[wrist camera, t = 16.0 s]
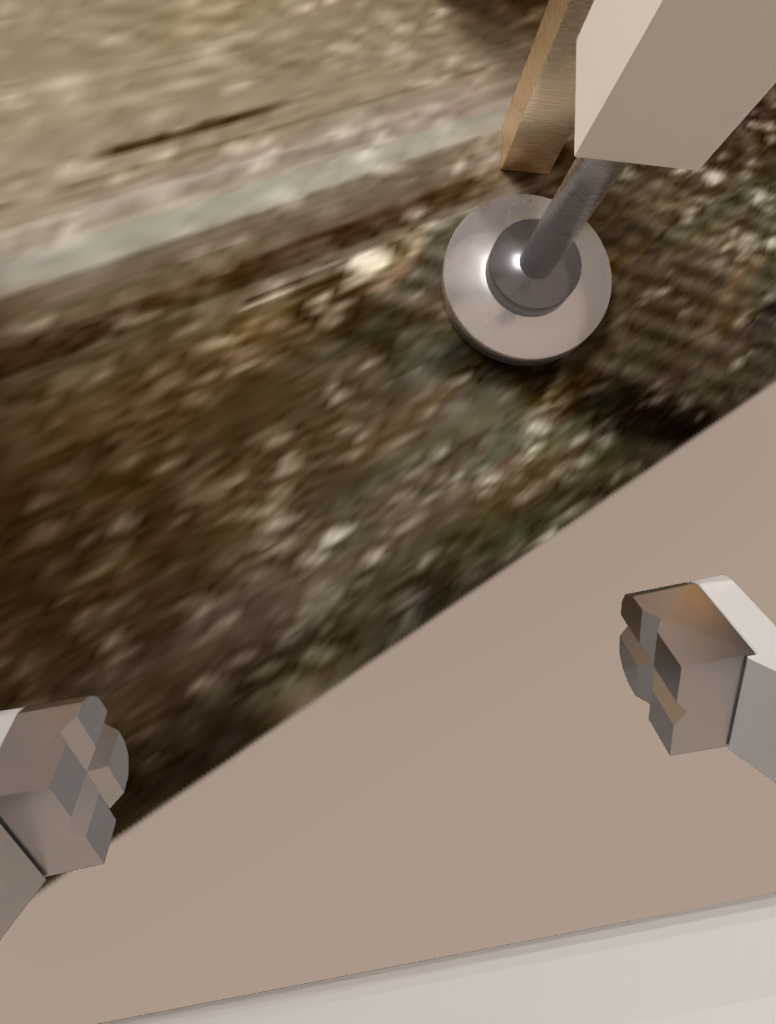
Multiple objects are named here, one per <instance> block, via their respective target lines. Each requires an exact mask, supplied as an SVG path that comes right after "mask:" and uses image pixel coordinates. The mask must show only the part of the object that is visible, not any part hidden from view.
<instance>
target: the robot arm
mask: <svg viewBox="0 0 776 1024" xmlns="http://www.w3.org/2000/svg"><path fill="white" fill-rule="evenodd" d="M621 615H622V617H623V618H624V620H625V622H626V623H627V625H628V627H627V628H626V629H625V630H624V631H623V633H622V634H621V635H620V657H621V662H622V666H623V670H624V673H625V676H626V678H627V681H628V683H629V685H630V686H631V688H632V690H633V692H634V694H635V695H636V696H637V697H639V698H641V699H642V700H644V701H646V702H648V703H649V704H650V710H649V711H650V712H649V720H650V722H651V724H652V725H653V727H654V729H655V730H656V732H657V734H658V736H659V738H660V739H661V741H662V743H663V744H664V746H665V748H666V750H667V751H668V753H669V755H670V756H672V755H678V754H684V753H690V752H697V751H703V750H709V749H715V748H721V747H727V746H729V748H728V749H729V750H730V751H731V752H733V753H734V754H736V755H737V756H738V757H740V758H741V759H743V760H744V761H745V762H747V763H748V764H750V765H751V766H753V767H754V768H755V769H757V770H758V771H760V772H761V773H763V774H764V775H765V776H767V777H768V778H770V779H771V780H773V781H774V782H775V783H776V626H775V625H774V624H773V623H772V622H771V621H770V620H769V618H768V617H767V616H766V615H765V614H764V613H763V612H762V611H761V610H760V609H759V608H758V607H757V606H756V605H755V604H754V603H753V602H752V601H751V599H750V598H749V597H748V596H747V595H746V594H745V593H744V592H743V591H742V590H741V589H740V588H739V587H738V586H737V584H736V583H735V582H734V581H733V580H732V579H731V578H729V577H727V576H725V575H719V576H714V577H709V578H704V579H699V580H694V581H690V582H689V583H681V584H676V585H671V586H666V587H660V588H655V589H651V590H645V591H640V592H635V593H630V594H625V596H624V598H623V601H622V608H621ZM107 712H108V711H107V709H106V708H105V706H104V705H103V703H102V702H101V700H100V699H99V697H96V696H84V697H78V698H72V699H66V700H60V701H54V702H48V703H42V704H36V705H30V706H26V707H22V708H16V709H10V710H3V711H0V940H1V938H2V937H3V935H4V934H5V933H6V932H7V930H8V929H9V928H10V926H11V925H12V924H13V922H14V921H15V920H16V919H17V917H18V916H19V915H20V913H21V912H22V911H23V909H24V908H25V907H26V906H27V904H28V903H29V902H30V900H31V899H32V898H33V896H34V895H35V894H36V892H37V891H38V890H39V889H40V887H41V886H42V885H43V883H44V882H45V881H46V878H45V877H46V876H51V875H55V874H60V873H64V872H69V871H73V870H78V869H82V868H87V867H92V866H96V865H100V864H104V862H105V858H106V855H107V851H108V848H109V844H110V841H111V837H112V834H113V830H114V827H115V823H116V819H115V817H114V815H113V813H112V811H111V810H110V808H111V807H112V805H113V804H114V803H115V802H116V801H117V800H118V799H119V798H120V796H121V795H122V794H123V793H124V790H125V786H126V782H127V779H128V752H127V748H126V744H125V741H124V739H123V737H122V736H121V734H120V732H119V731H118V730H116V729H114V728H113V727H111V726H109V725H107V724H105V723H104V721H105V718H106V715H107ZM99 1024H776V893H772V894H767V895H762V896H757V897H752V898H746V899H741V900H737V901H731V902H726V903H721V904H716V905H711V906H705V907H700V908H695V909H690V910H685V911H680V912H674V913H669V914H664V915H658V916H653V917H648V918H643V919H638V920H633V921H627V922H622V923H617V924H612V925H606V926H601V927H596V928H591V929H586V930H580V931H575V932H570V933H565V934H559V935H554V936H549V937H544V938H539V939H534V940H528V941H523V942H518V943H513V944H507V945H502V946H497V947H492V948H487V949H481V950H476V951H471V952H466V953H461V954H456V955H450V956H445V957H440V958H435V959H429V960H424V961H419V962H414V963H409V964H404V965H398V966H394V967H388V968H383V969H378V970H373V971H368V972H363V973H357V974H352V975H347V976H342V977H336V978H331V979H326V980H321V981H316V982H311V983H305V984H300V985H296V986H290V987H285V988H280V989H275V990H270V991H264V992H259V993H254V994H249V995H244V996H239V997H234V998H228V999H223V1000H218V1001H213V1002H207V1003H202V1004H197V1005H192V1006H187V1007H182V1008H177V1009H171V1010H166V1011H161V1012H156V1013H150V1014H145V1015H140V1016H135V1017H130V1018H125V1019H120V1020H114V1021H109V1022H104V1023H99Z"/></svg>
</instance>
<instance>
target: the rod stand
mask: <svg viewBox="0 0 776 1024" xmlns="http://www.w3.org/2000/svg"><path fill="white" fill-rule="evenodd" d="M593 2H594V0H549V2H548V5H547V8H546V10H545V13H544V16H543V18H542V21H541V24H540V26H539V29H538V32H537V34H536V37H535V40H534V42H533V45H532V48H531V50H530V53H529V56H528V58H527V61H526V64H525V67H524V69H523V72H522V75H521V77H520V80H519V83H518V85H517V88H516V91H515V93H514V96H513V99H512V101H511V104H510V107H509V109H508V112H507V115H506V117H505V120H504V123H503V132H502V161H501V169H503V170H512V171H521V172H530V173H540V174H549V172H550V171H551V169H552V167H553V165H554V163H555V161H556V159H557V157H558V155H559V154H560V152H561V150H562V148H563V146H564V144H565V142H566V140H567V138H568V137H569V135H570V133H571V131H572V129H573V127H574V125H575V93H576V43H577V38H578V35H579V33H580V31H581V29H582V26H583V24H584V22H585V20H586V18H587V15H588V13H589V11H590V9H591V6H592V4H593ZM627 164H628V163H627V162H618V161H610V160H601V159H592V158H583V157H576V159H575V161H574V163H573V164H572V166H571V168H570V170H569V171H568V173H567V175H566V176H565V178H564V180H563V182H562V183H561V185H560V187H559V189H558V190H557V192H556V194H555V196H554V197H553V199H549V198H546V197H542V196H536V195H528V194H516V195H508V196H503V197H499V198H496V199H493V200H490V201H488V202H486V203H484V204H482V205H480V206H479V207H477V208H476V209H475V210H473V211H472V212H471V213H470V214H469V215H468V216H466V217H465V218H464V219H463V221H462V222H461V223H460V224H459V226H458V227H457V229H456V230H455V232H454V234H453V235H452V238H451V240H450V242H449V245H448V248H447V251H446V253H445V256H444V259H443V263H442V267H441V274H440V291H441V297H442V302H443V305H444V308H445V311H446V313H447V316H448V318H449V320H450V322H451V323H452V325H453V326H454V328H455V330H456V331H457V332H458V333H459V335H460V336H461V337H462V338H463V339H464V340H465V341H466V342H467V343H468V344H469V345H470V346H472V347H473V348H474V349H476V350H477V351H478V352H480V353H482V354H483V355H485V356H487V357H489V358H491V359H494V360H496V361H498V362H502V363H506V364H510V365H516V366H535V365H542V364H546V363H550V362H553V361H555V360H558V359H560V358H562V357H564V356H566V355H567V354H569V353H570V352H572V351H573V350H574V349H576V348H577V347H578V346H579V345H580V344H581V343H582V342H583V341H584V340H585V339H586V338H587V337H588V336H589V335H590V334H591V333H592V332H593V331H594V330H595V329H596V327H597V326H598V324H599V323H600V322H601V320H602V318H603V316H604V314H605V312H606V309H607V307H608V304H609V300H610V295H611V287H612V276H611V268H610V262H609V259H608V256H607V253H606V250H605V248H604V246H603V244H602V242H601V240H600V238H599V237H598V235H597V234H596V232H595V231H594V230H593V228H592V227H591V226H590V225H589V224H588V223H587V221H588V220H589V218H590V217H591V216H592V214H593V213H594V211H595V210H596V208H597V207H598V206H599V204H600V203H601V201H602V200H603V198H604V197H605V196H606V194H607V193H608V191H609V190H610V189H611V187H612V186H613V184H614V183H615V181H616V180H617V179H618V177H619V176H620V174H621V173H622V171H623V170H624V169H625V167H626V166H627Z"/></svg>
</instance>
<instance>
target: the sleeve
mask: <svg viewBox="0 0 776 1024" xmlns="http://www.w3.org/2000/svg"><path fill="white" fill-rule="evenodd" d="M775 83H776V0H594V2H593V4H592V6H591V9H590V11H589V13H588V15H587V18H586V20H585V22H584V24H583V26H582V29H581V31H580V33H579V35H578V38H577V43H576V93H575V143H574V157H583V158H592V159H601V160H610V161H618V162H627V163H636V164H645V165H653V166H662V167H671V168H680V169H689V170H697V171H698V170H699V169H700V168H701V167H702V165H703V164H704V163H705V162H706V161H707V160H708V159H709V158H710V156H711V155H712V154H713V153H714V152H715V151H716V150H717V148H718V147H719V146H720V145H721V144H722V143H723V142H724V141H725V139H726V138H727V137H728V136H729V135H730V134H731V133H732V131H733V130H734V129H735V128H736V127H737V126H738V125H739V124H740V122H741V121H742V120H743V119H744V118H745V117H746V116H747V115H748V113H749V112H750V111H751V110H752V109H753V108H754V107H755V105H756V104H757V103H758V102H759V101H760V100H761V99H762V98H763V96H764V95H765V94H766V93H767V92H768V91H769V90H770V88H771V87H772V86H773V85H774V84H775Z"/></svg>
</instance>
